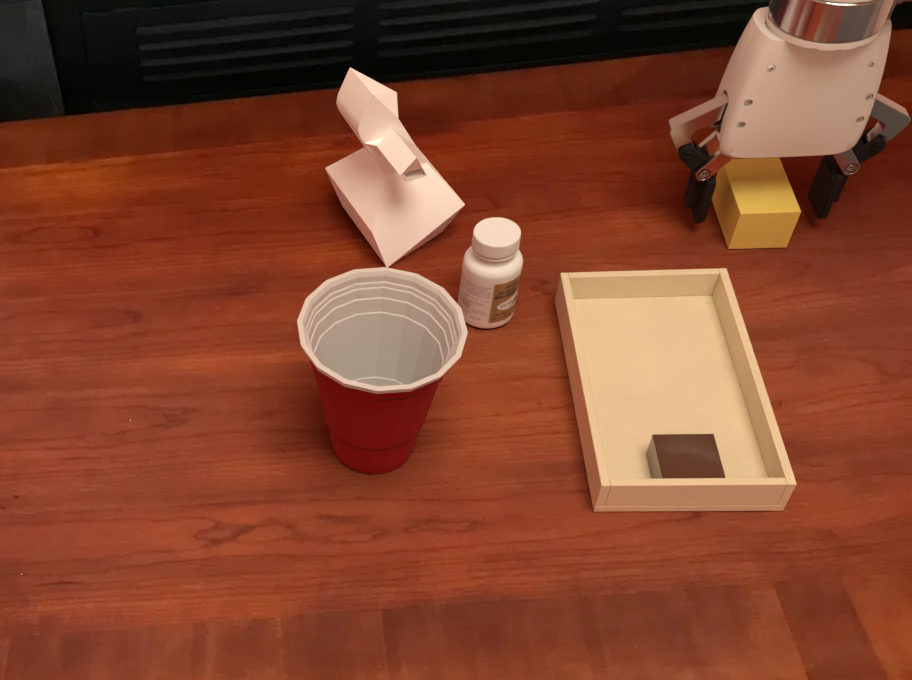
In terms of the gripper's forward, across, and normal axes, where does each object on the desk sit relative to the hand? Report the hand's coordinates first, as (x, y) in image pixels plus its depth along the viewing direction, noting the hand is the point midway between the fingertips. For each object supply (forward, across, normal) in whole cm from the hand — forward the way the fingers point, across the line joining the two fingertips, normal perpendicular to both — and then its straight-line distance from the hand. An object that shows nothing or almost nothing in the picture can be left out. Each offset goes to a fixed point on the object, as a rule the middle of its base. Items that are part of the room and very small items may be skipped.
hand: (755, 209), depth 92 cm
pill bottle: (+1, +22, +10) cm, 24 cm away
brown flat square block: (+1, +11, +27) cm, 29 cm away
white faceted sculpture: (+1, +29, -2) cm, 29 cm away
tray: (+1, +11, +20) cm, 22 cm away
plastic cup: (+1, +31, +24) cm, 39 cm away
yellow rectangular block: (+1, 0, 0) cm, 1 cm away
